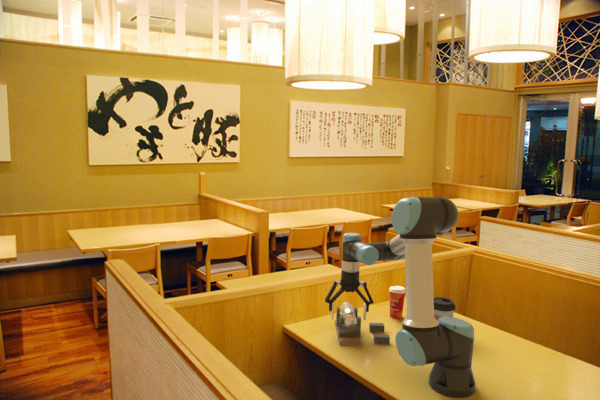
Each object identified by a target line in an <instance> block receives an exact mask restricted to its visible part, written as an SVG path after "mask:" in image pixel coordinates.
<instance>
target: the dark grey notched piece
mask: <svg viewBox="0 0 600 400" xmlns="http://www.w3.org/2000/svg"><path fill="white" fill-rule="evenodd" d="M353 310H354V313H355V316H356V319H357V326H356V327H355V328H353V329H349V328H347V327H346V325H345V323H344V318H343V314H342V313H341V306H336V312H335V313H336V318H335V320H334V326H335V329H336V335H337V340H338V344H339V346H362V344H363V340H362V337H361V333H362V332H361V331H362V330H361V329H362V325H361V324H362V317H361V316H359V315H358V313H359V312H358V310H359V309H358V307H357V306H354V308H353Z"/></svg>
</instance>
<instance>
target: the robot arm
mask: <svg viewBox="0 0 600 400" xmlns="http://www.w3.org/2000/svg"><path fill="white" fill-rule="evenodd" d="M459 216H460V215H459V210H458V208H457V205H456V204H455V203H454V202H453V201H452V200H450V199H449V198H447V197H445V196H413V197H404V198H401V199H400V200H399V201H398V202H396V205H395V206H394V207H393V209H392V213H391V224H392V227H393V230H394V232H395V233H396V234H397V235H396V236H394V237H393V238H391V239H389V240H387V241H380V242H363V241H362V235H361V234H360V233H358V232H357V233H356V232H346V233H344V234H343V236H342V241H341V242H342V244H341V245H342V246H341V247H342V248H341V249H342V250H341V272H340V278H341V279H340V281H339V280H336V279H334V280H333V282H332V286H331V287H330V289H329V291H328V293H327V294H326V297H325V298H324V302H325V303H326V304H328V311H329V312H330V314H331V315H330V318H331V319H330V320H334V312H335V304H334V302H335V301H336V300H337V299H338V298H339V297H340V296H341V295H342V294H343V293H344V292H346V293H354V292H355V293H356V294H357V295H358V296H359V297H360V299H361V300H362V301H363V302H364V303H363V309H362V316H363V317H362V319H363V321H367V320H366V319H367V316H366V315H367V313H369V309H370V305H373V304H374V303H375V302H374V300H373V298H372V296H371V294H370V291H369V289H368V285H367V282H366V280H363V281H360V270H361V269H360V267H361V264H363V265H367V266H372V265H374V264H375V263H377V262H385V261H398V260H402V259H404V260H405V263H404V264H405V291H406V292H405V295H406V297H405V298H406V317H405V318H404V319H403V320H402V325H401V326H402V329H399V330H398V331H397V332H396V334H395V336H394V337H395V346H396V350H397V352H398V354H399V356H400V358H401V359H402V360H403V362H404V363H405V364H407V365H408V366H411V367H419V366H426V365H429V364H433V366H432V367H431V370H430V372H429V375H428V384H429V387H431V389H433V390H434V391H436V392H437V393H440V394H442V395H445V396H447V397H453V398H467V397H470V396H472V395H473V394H475V392H476V380H475V376H474V373H473V369H472V363H473V355H474V354H473V351H474V343H475V342H474V341H475V328H474V326H473V325H472V324H471V323H470V322H469V321H467V320H464V319H461V318H458V317H454V316H453V317H448V316H443V317H440V318H439V320H438V321H437V320H436V319H435V318H434V300H433V298H434V275H433V274H434V272H433V270H434V268H433V243H434V242H435V241H436V240H437V236H442V235H444V234H446V233H448V232H450V231H451V230H452V229H453V228H455V227H456V225H457V224H458V221H459V218H460V217H459ZM339 286H340V287H339ZM360 286H361V287H362V288H363V290H364V291H365V294H366V296H367V297H368V298H367V297H365V294H363V293H362V292H361V290H360V289H359V287H360ZM337 287H339V289H338V290H337V291H336V292H335V290H336V288H337ZM334 292H335V294H334ZM333 294H334V295H333Z"/></svg>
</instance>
